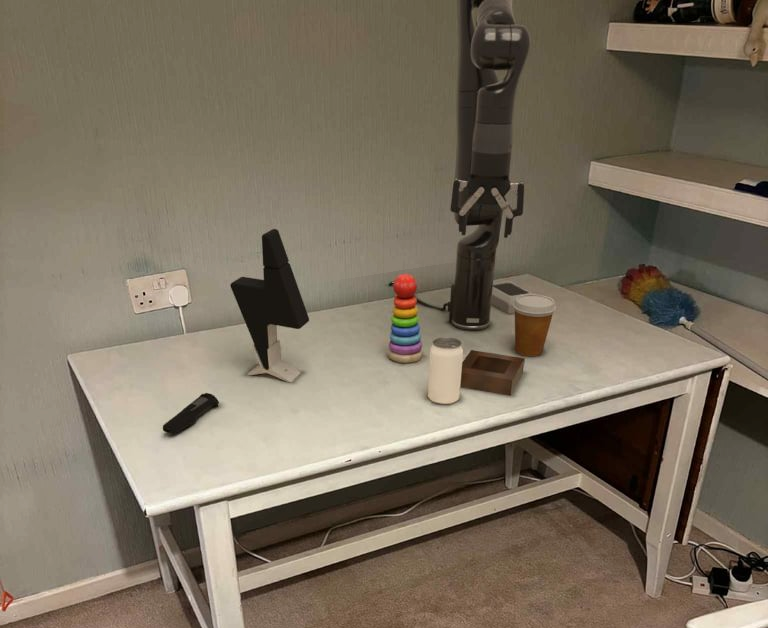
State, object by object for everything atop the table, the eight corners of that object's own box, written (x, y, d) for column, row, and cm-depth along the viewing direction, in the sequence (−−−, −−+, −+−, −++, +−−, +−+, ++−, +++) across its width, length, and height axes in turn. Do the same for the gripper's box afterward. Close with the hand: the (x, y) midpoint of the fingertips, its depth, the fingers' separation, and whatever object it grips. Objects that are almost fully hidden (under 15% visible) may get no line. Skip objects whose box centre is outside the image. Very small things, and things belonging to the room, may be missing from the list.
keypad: (508, 277, 211) (540, 294, 200) (507, 291, 213) (538, 308, 202) (478, 282, 208) (509, 299, 197) (477, 295, 210) (508, 313, 199)
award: (312, 374, 167) (306, 231, 150) (302, 384, 162) (295, 238, 145) (249, 364, 170) (236, 223, 154) (238, 373, 166) (223, 230, 149)
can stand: (454, 386, 163) (456, 370, 161) (469, 364, 172) (471, 349, 170) (510, 395, 159) (512, 380, 157) (523, 373, 169) (524, 358, 167)
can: (457, 406, 155) (461, 350, 148) (425, 403, 156) (428, 347, 149) (461, 392, 160) (465, 337, 153) (430, 389, 161) (433, 335, 154)
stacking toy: (408, 347, 179) (410, 266, 169) (429, 359, 174) (433, 276, 164) (380, 355, 176) (381, 273, 165) (401, 367, 170) (404, 283, 160)
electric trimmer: (158, 437, 143) (155, 422, 141) (205, 402, 155) (203, 387, 153) (175, 441, 142) (172, 426, 140) (221, 405, 154) (219, 391, 152)
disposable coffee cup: (553, 347, 181) (561, 297, 174) (543, 362, 173) (550, 310, 167) (514, 340, 184) (520, 291, 177) (502, 354, 177) (508, 303, 170)
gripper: (530, 146, 149) (520, 233, 158) (456, 143, 151) (451, 228, 160) (529, 153, 143) (519, 243, 152) (452, 149, 145) (447, 238, 154)
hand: (484, 235), depth 156 cm, fingers open, 8 cm apart
